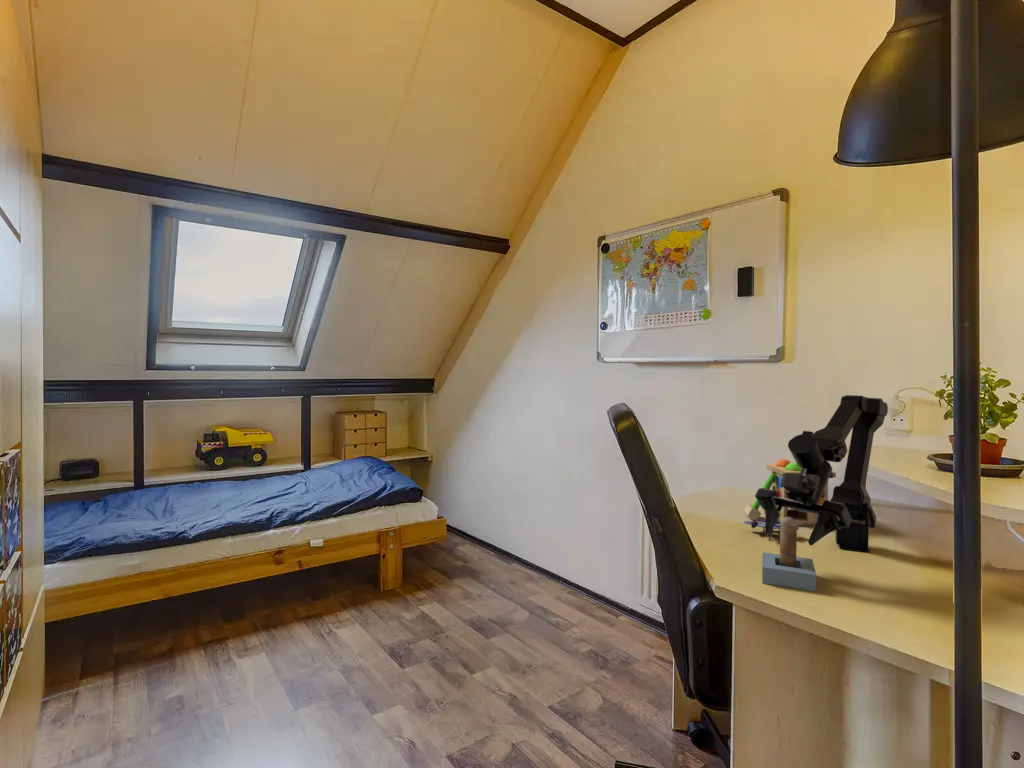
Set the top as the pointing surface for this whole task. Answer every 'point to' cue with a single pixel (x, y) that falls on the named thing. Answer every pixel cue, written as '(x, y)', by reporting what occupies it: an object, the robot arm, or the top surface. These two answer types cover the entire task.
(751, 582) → the top surface
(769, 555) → the slotted blue base
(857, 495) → the robot arm
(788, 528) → the walnut peg
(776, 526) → the toy airplane
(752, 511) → the pounding bench toy
